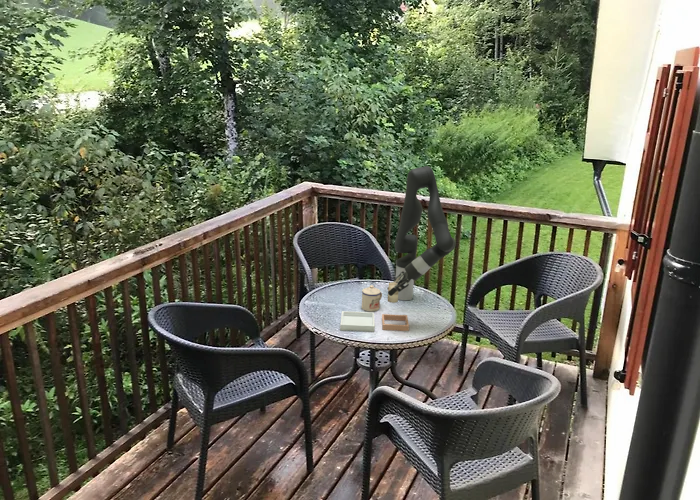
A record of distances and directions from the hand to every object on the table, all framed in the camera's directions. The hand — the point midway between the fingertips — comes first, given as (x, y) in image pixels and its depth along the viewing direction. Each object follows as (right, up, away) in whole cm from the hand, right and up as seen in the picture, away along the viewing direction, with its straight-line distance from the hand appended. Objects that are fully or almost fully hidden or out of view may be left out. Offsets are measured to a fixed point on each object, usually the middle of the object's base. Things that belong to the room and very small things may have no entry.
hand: (388, 292), depth 250 cm
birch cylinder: (+2, -4, +1) cm, 5 cm away
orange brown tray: (+3, -15, +5) cm, 16 cm away
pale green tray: (-14, -15, +4) cm, 21 cm away
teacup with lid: (-6, -9, +23) cm, 26 cm away
